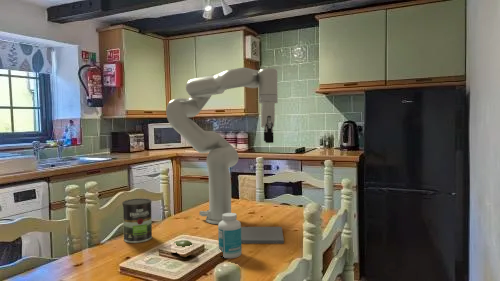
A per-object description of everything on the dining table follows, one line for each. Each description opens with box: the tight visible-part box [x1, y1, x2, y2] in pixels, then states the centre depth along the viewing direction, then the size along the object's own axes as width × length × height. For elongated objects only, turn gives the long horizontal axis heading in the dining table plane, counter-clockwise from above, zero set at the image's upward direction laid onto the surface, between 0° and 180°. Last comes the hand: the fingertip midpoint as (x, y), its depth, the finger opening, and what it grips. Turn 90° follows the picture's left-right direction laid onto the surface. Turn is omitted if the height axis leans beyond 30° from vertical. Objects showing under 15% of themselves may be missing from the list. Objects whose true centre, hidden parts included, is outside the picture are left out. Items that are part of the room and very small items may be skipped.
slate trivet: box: [241, 226, 285, 245], centre depth 139 cm, size 16×16×1 cm
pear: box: [173, 239, 193, 247], centre depth 121 cm, size 6×5×10 cm
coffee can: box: [122, 198, 153, 244], centre depth 138 cm, size 10×10×14 cm
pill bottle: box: [217, 212, 243, 260], centre depth 120 cm, size 8×7×14 cm
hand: (268, 141), depth 150 cm, fingers open, 9 cm apart
